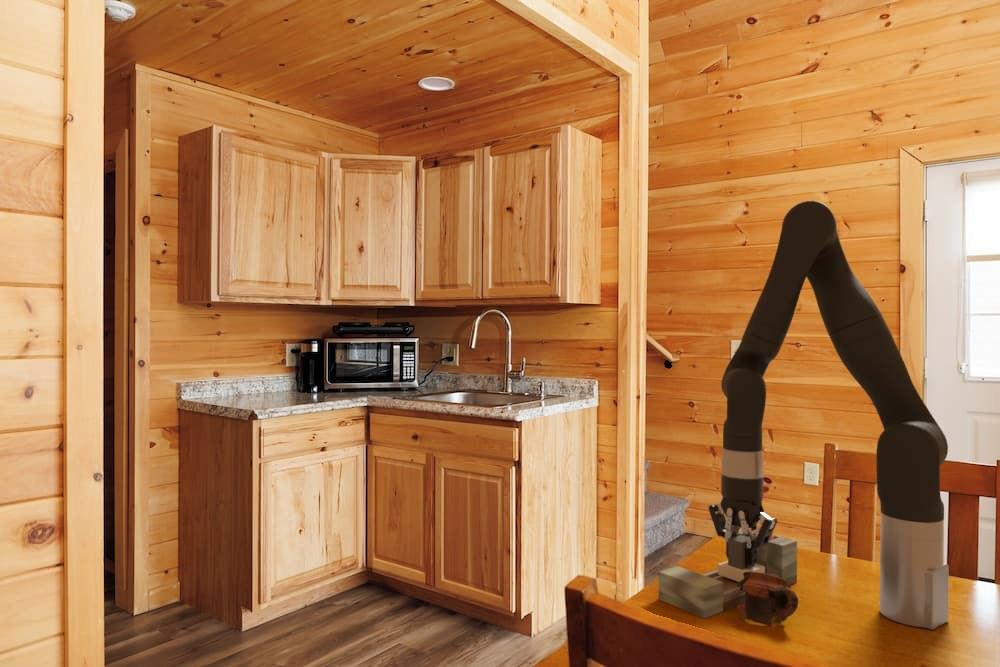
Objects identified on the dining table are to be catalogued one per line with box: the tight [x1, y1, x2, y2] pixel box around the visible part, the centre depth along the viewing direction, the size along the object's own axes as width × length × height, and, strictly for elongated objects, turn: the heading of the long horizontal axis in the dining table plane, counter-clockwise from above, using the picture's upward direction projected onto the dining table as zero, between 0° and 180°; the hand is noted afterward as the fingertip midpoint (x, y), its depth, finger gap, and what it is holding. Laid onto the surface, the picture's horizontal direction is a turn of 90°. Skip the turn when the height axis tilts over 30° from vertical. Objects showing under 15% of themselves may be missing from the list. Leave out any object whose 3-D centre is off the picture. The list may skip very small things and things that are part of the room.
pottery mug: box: [736, 572, 799, 627], centre depth 116 cm, size 12×10×8 cm
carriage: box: [717, 535, 765, 582], centre depth 130 cm, size 6×6×7 cm
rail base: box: [658, 530, 798, 619], centre depth 128 cm, size 10×28×8 cm, turn 126°
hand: (741, 563), depth 130 cm, fingers closed on carriage, 3 cm apart
